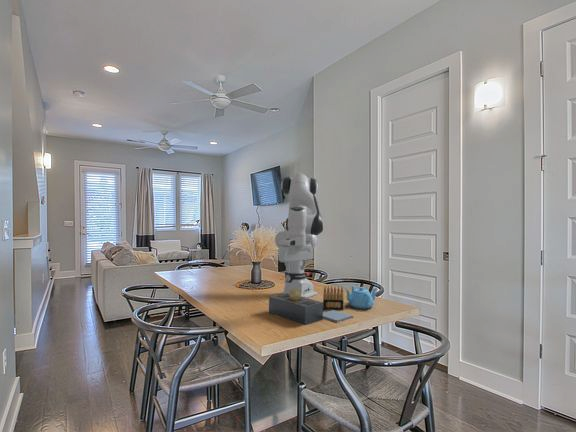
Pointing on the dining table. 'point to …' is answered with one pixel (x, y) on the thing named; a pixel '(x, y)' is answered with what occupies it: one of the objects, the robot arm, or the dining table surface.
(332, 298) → the ammunition clip
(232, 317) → the dining table surface
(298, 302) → the dark grey socket block
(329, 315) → the slate mat
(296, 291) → the brass plug
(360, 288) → the teapot
